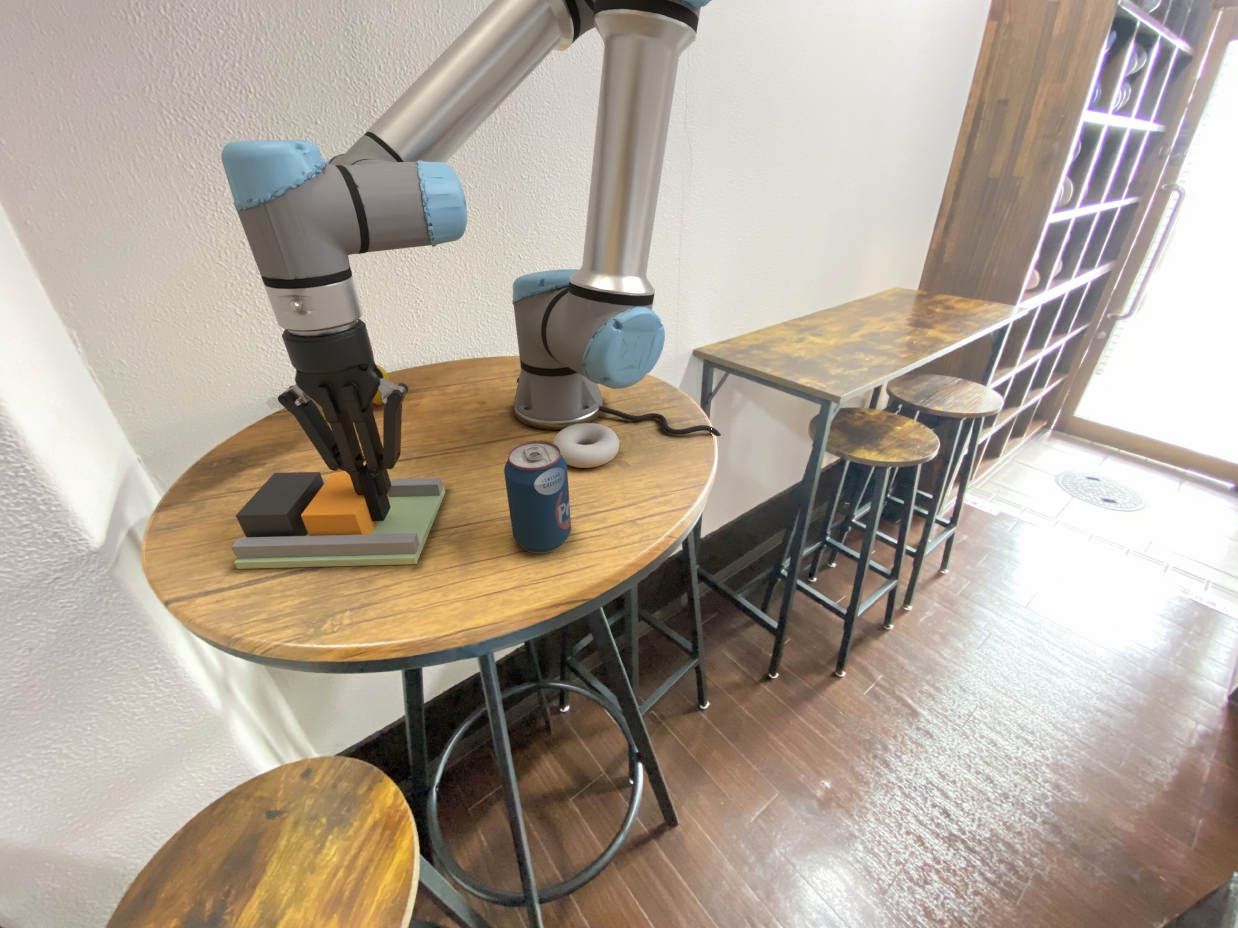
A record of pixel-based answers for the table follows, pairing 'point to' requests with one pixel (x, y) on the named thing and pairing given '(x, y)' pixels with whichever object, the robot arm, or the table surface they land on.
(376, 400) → the lemon
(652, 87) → the robot arm
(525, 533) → the soda can
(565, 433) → the donut
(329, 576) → the table surface
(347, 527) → the matte orange brick
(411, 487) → the board
